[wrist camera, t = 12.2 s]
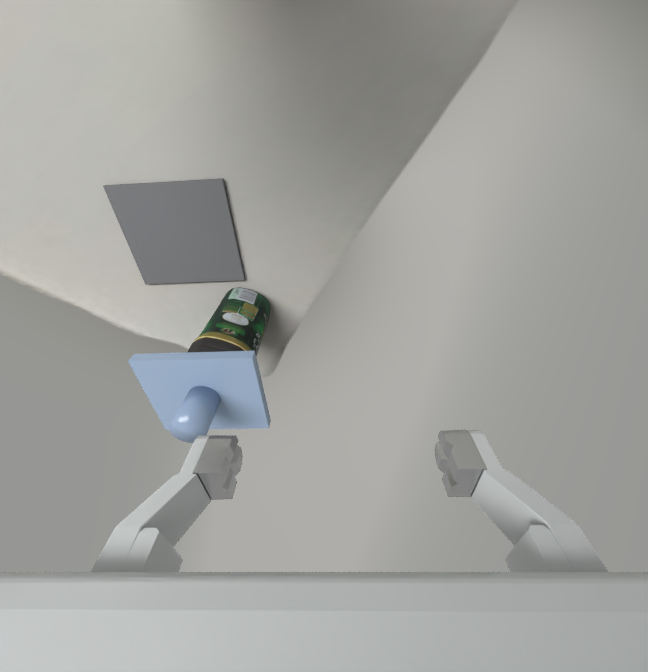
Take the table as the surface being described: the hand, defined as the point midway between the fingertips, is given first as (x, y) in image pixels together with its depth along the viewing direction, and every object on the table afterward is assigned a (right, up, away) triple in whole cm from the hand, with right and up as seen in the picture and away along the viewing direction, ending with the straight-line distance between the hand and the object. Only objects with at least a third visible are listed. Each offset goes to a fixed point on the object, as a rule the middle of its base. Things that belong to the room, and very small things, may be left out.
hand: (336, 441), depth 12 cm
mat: (-21, +19, +30) cm, 41 cm away
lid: (-14, -2, +22) cm, 26 cm away
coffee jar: (-14, +8, +37) cm, 41 cm away
